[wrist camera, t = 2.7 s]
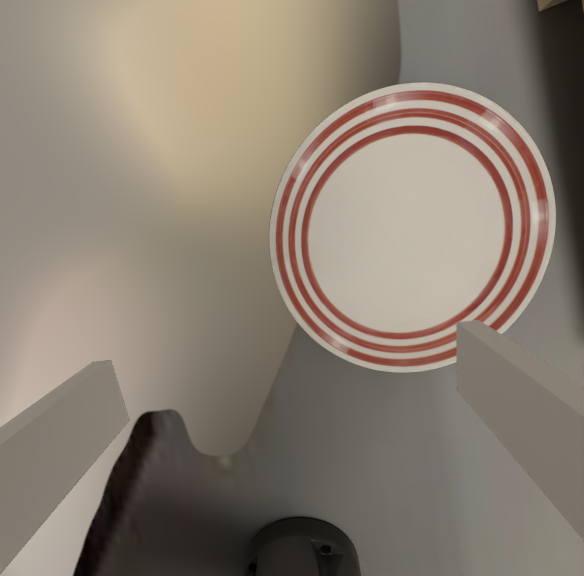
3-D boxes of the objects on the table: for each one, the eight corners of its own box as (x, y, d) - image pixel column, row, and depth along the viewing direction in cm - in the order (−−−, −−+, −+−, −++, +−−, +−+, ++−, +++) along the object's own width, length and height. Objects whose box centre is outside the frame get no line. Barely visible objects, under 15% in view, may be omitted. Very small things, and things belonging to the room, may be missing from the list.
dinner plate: (436, 28, 28) (454, 1, 25) (584, 256, 32) (617, 259, 28) (218, 221, 32) (209, 220, 29) (373, 403, 36) (381, 421, 32)
